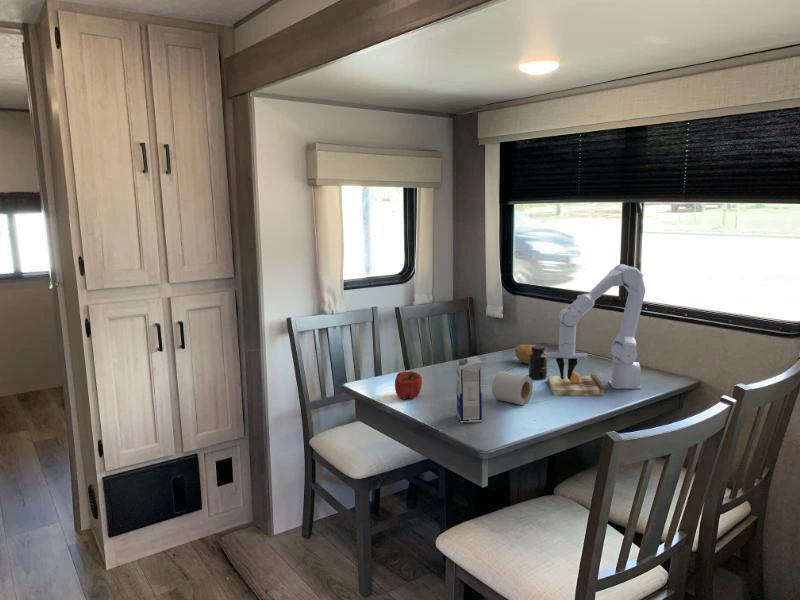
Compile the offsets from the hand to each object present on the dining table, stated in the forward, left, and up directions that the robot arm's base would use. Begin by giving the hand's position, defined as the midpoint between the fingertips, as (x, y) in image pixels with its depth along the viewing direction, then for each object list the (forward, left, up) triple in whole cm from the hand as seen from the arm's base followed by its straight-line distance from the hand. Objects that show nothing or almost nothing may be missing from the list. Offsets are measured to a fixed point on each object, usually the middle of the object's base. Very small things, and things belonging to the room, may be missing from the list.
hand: (565, 378), depth 214 cm
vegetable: (+56, +10, -4) cm, 57 cm away
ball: (-3, 0, 0) cm, 3 cm away
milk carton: (+35, +30, -4) cm, 46 cm away
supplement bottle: (+8, -13, -4) cm, 16 cm away
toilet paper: (+20, +14, -4) cm, 25 cm away
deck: (-3, 0, -4) cm, 5 cm away
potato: (+9, -31, -4) cm, 33 cm away
